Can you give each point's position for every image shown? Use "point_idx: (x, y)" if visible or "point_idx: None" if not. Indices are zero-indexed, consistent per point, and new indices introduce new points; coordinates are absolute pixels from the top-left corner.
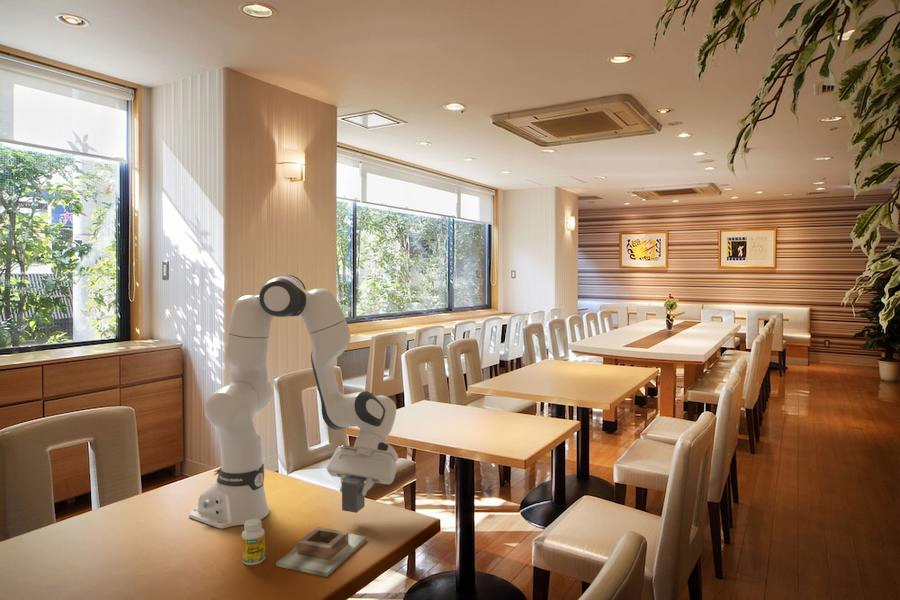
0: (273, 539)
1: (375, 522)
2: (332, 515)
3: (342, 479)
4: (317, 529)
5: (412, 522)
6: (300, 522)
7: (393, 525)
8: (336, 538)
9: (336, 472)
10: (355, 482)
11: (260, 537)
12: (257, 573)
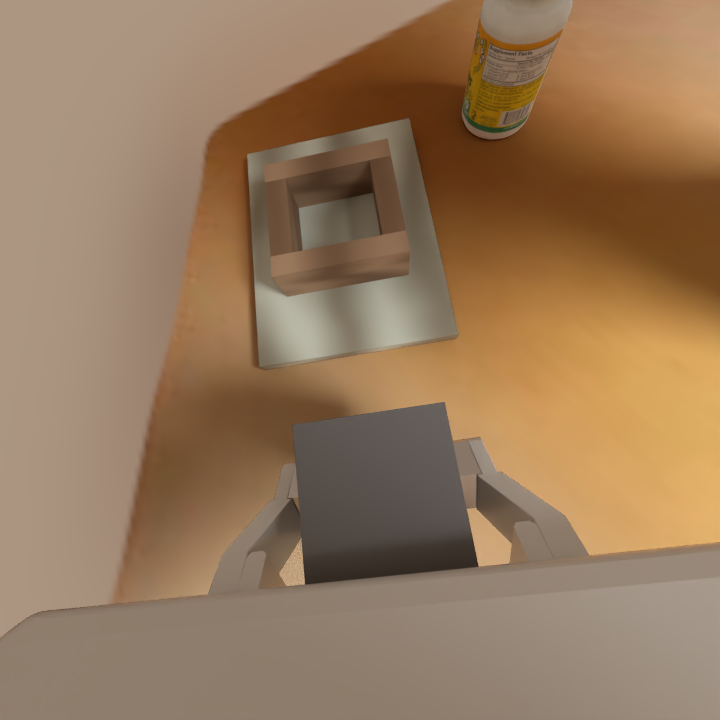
0: (560, 218)
1: None
2: (535, 488)
3: (525, 506)
4: (395, 234)
5: (176, 595)
6: (599, 362)
7: (235, 528)
8: (282, 221)
9: (675, 547)
10: (321, 454)
11: (479, 19)
12: (424, 87)
